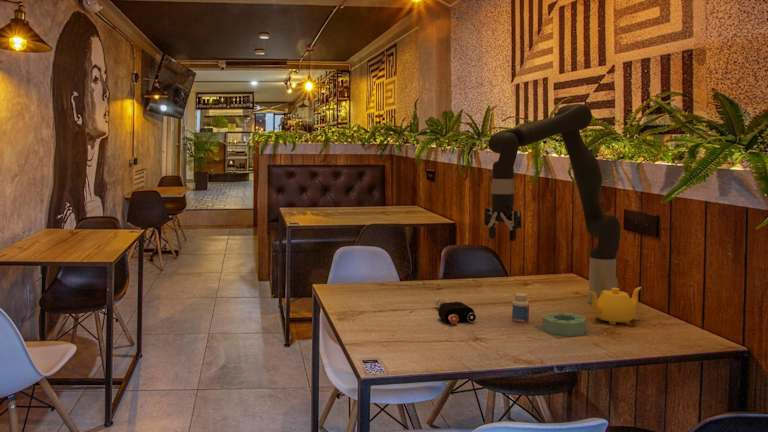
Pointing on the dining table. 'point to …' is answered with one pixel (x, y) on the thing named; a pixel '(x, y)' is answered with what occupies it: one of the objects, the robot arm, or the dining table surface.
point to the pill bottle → (520, 309)
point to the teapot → (615, 305)
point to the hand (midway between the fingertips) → (502, 239)
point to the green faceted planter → (564, 324)
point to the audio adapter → (455, 312)
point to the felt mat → (564, 336)
